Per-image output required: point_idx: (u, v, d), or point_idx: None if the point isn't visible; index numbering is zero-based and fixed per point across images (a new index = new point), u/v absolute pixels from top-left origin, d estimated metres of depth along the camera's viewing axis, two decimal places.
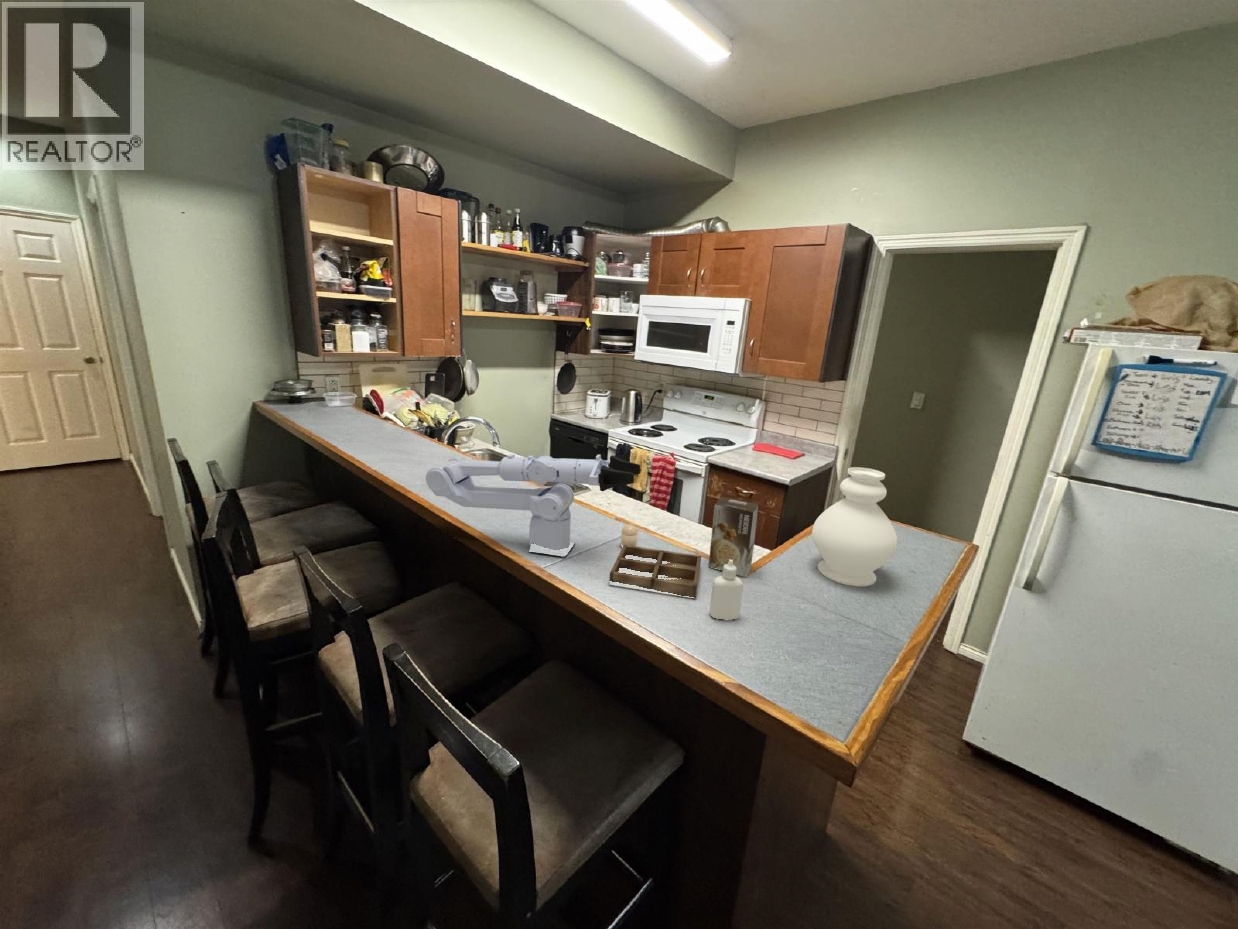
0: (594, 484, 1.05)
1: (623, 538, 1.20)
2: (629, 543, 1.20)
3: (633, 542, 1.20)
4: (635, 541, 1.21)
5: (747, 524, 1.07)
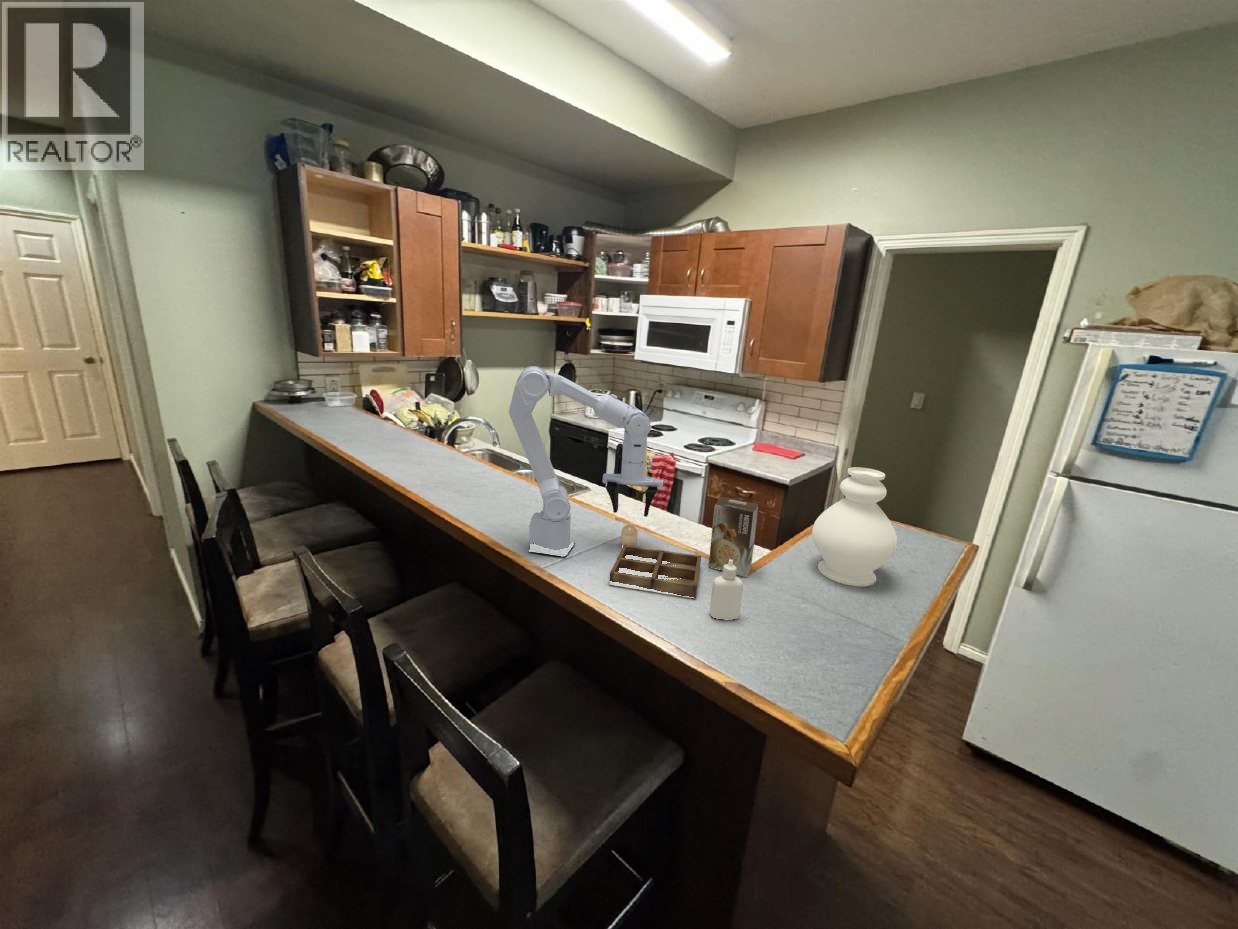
0: (661, 486, 1.16)
1: (623, 538, 1.20)
2: (629, 543, 1.20)
3: (633, 542, 1.20)
4: (635, 541, 1.21)
5: (747, 524, 1.07)
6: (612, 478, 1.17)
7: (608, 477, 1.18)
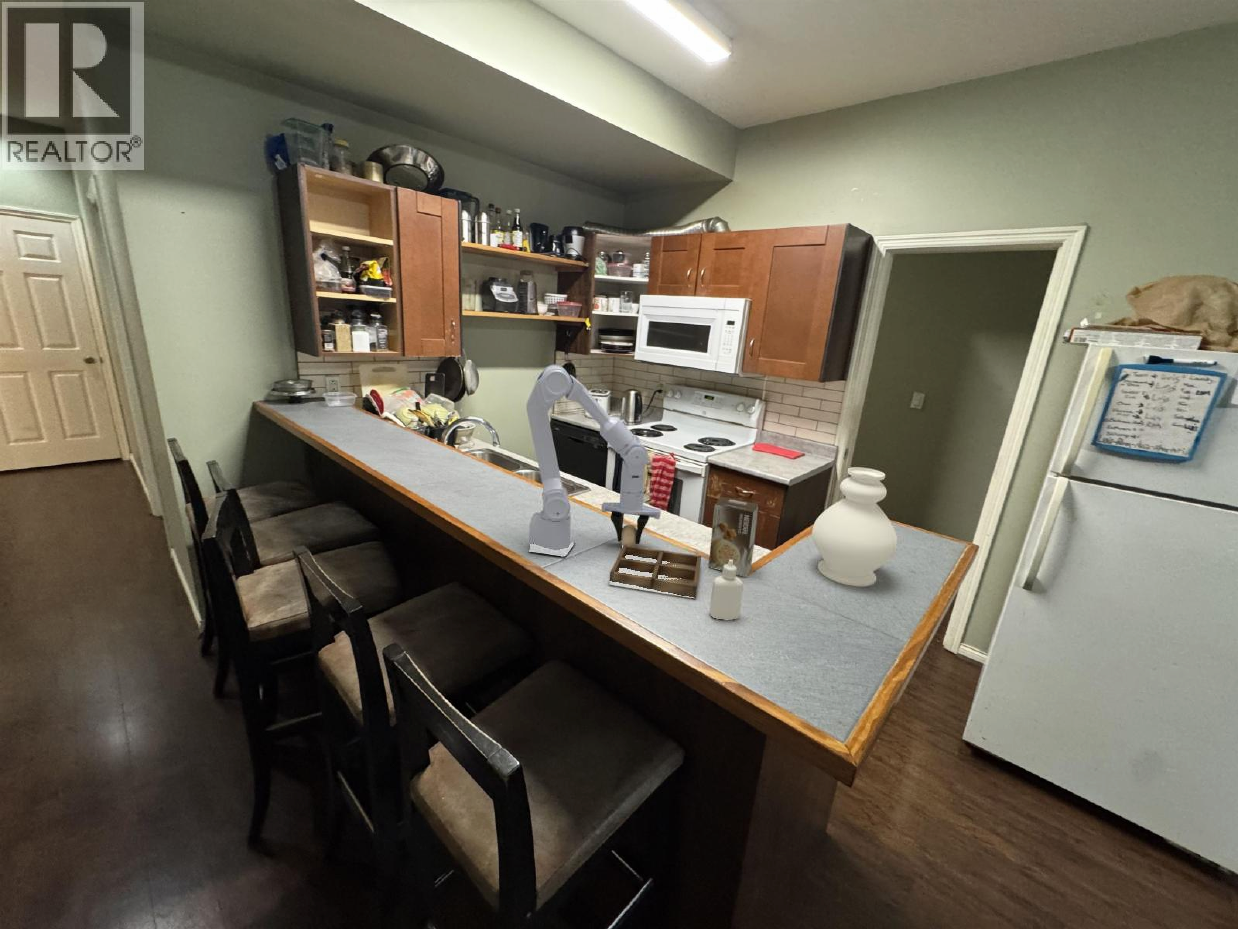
0: (659, 516, 1.18)
1: (623, 538, 1.20)
2: (629, 543, 1.20)
3: (633, 542, 1.20)
4: (635, 541, 1.21)
5: (747, 524, 1.07)
6: (611, 507, 1.19)
7: (607, 506, 1.20)
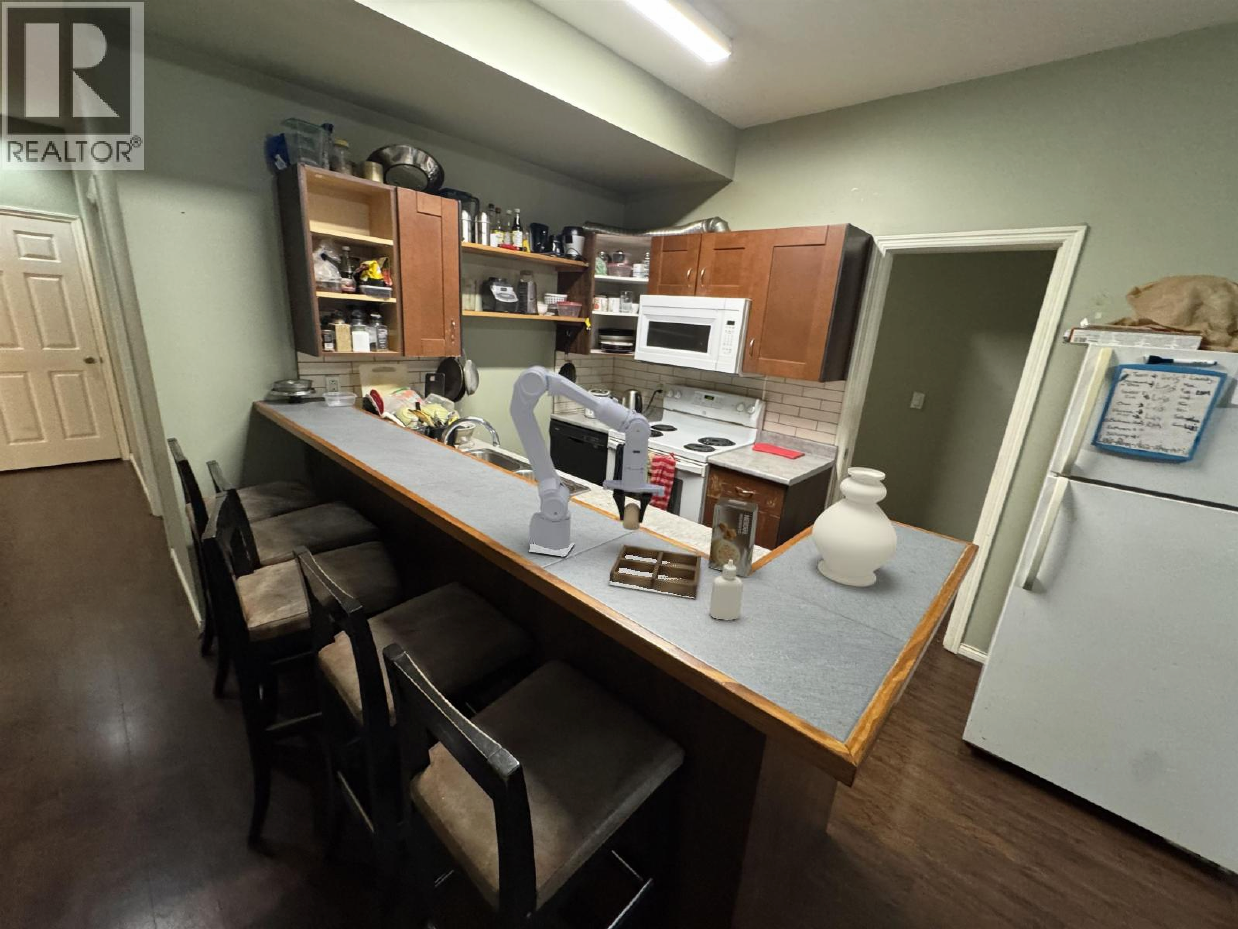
0: (663, 493, 1.13)
1: (625, 517, 1.16)
2: (632, 522, 1.15)
3: (635, 520, 1.16)
4: (638, 520, 1.16)
5: (747, 524, 1.07)
6: (612, 485, 1.14)
7: (608, 484, 1.15)
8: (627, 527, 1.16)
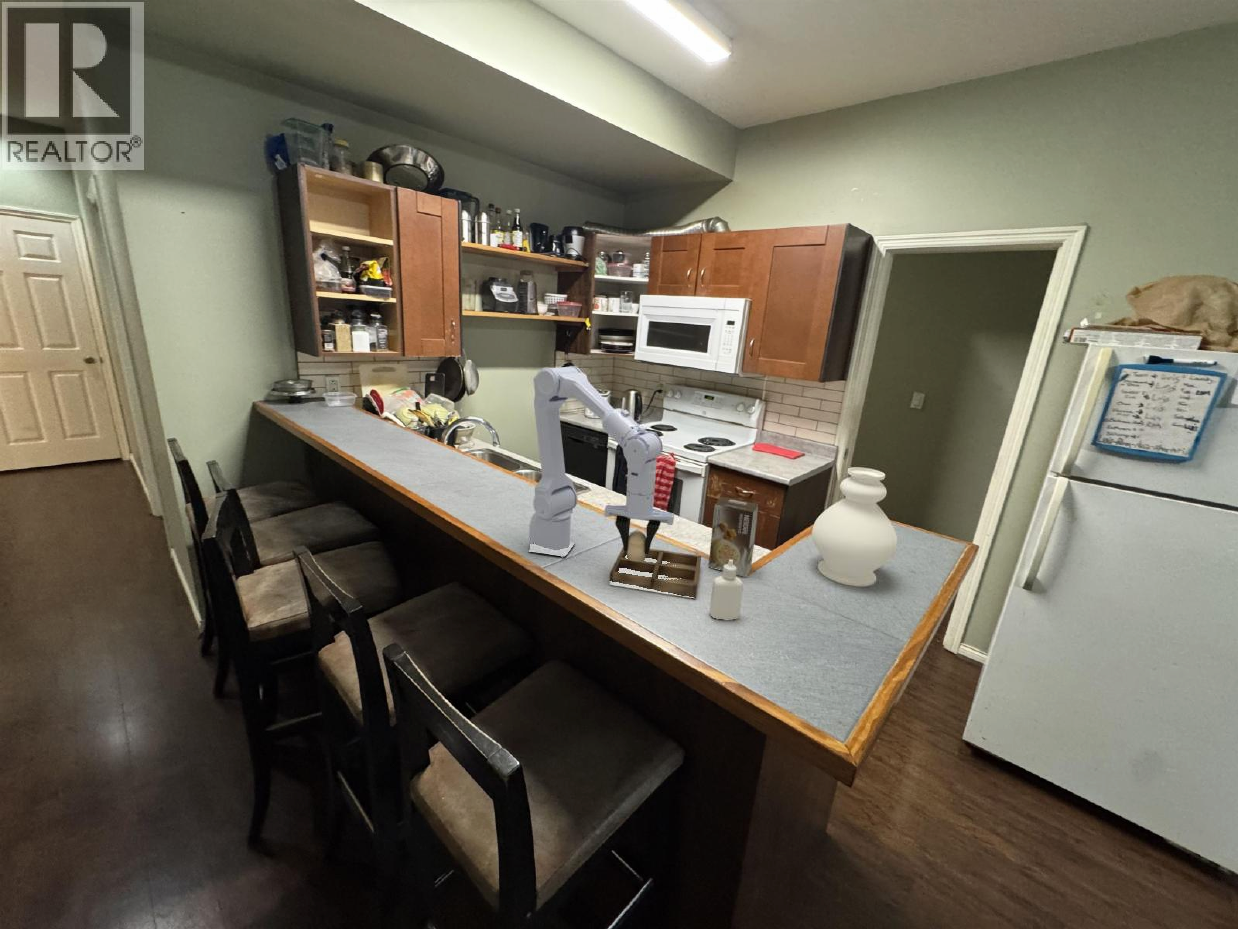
0: (672, 521, 1.00)
1: (630, 547, 1.03)
2: (637, 553, 1.03)
3: (641, 551, 1.03)
4: (644, 550, 1.03)
5: (747, 524, 1.07)
6: (615, 511, 1.02)
7: (611, 510, 1.02)
8: (631, 559, 1.03)
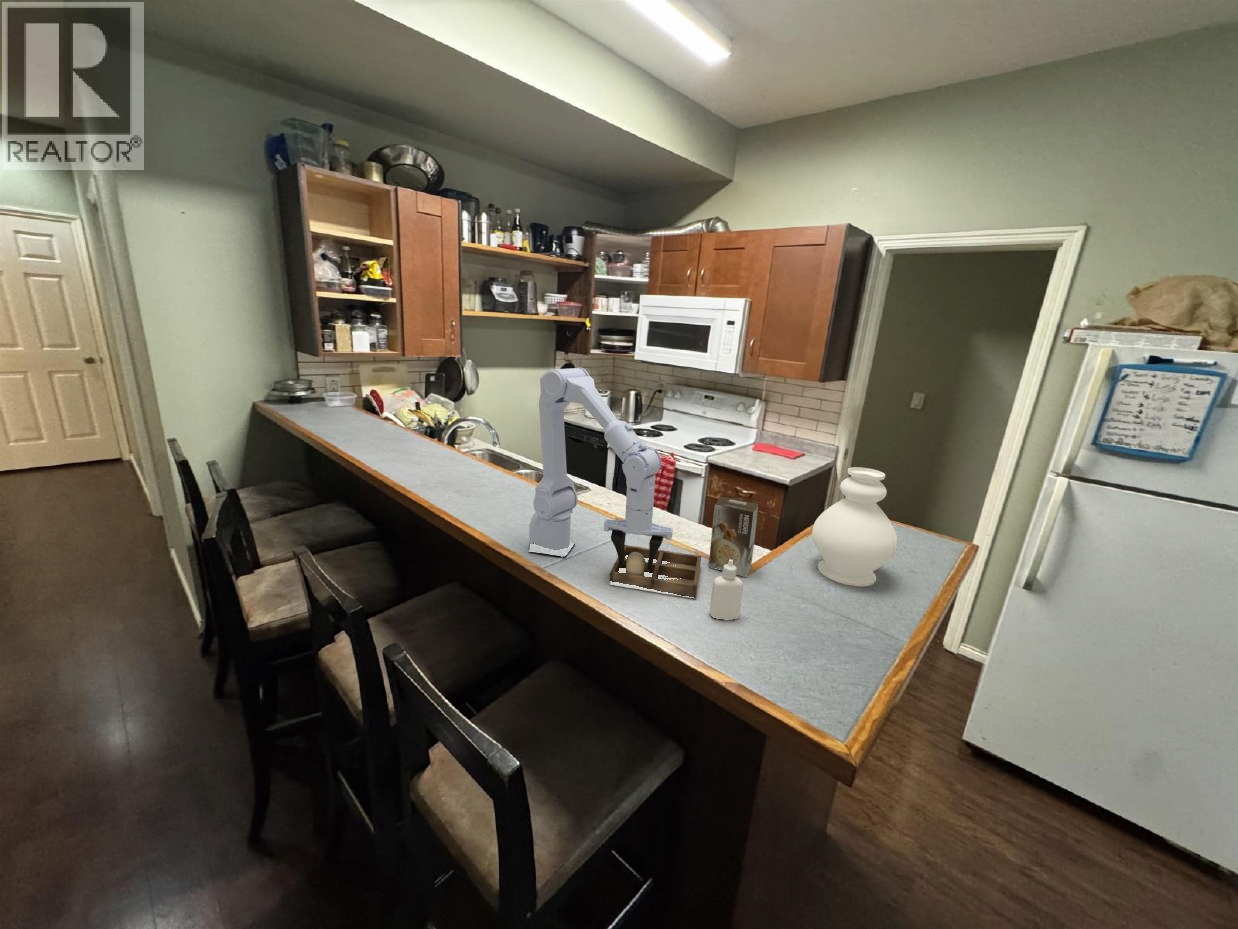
0: (671, 537, 1.01)
1: (628, 568, 1.04)
2: (635, 574, 1.04)
3: (639, 572, 1.04)
4: (642, 571, 1.05)
5: (747, 524, 1.07)
6: (614, 526, 1.03)
7: (610, 525, 1.03)
8: None
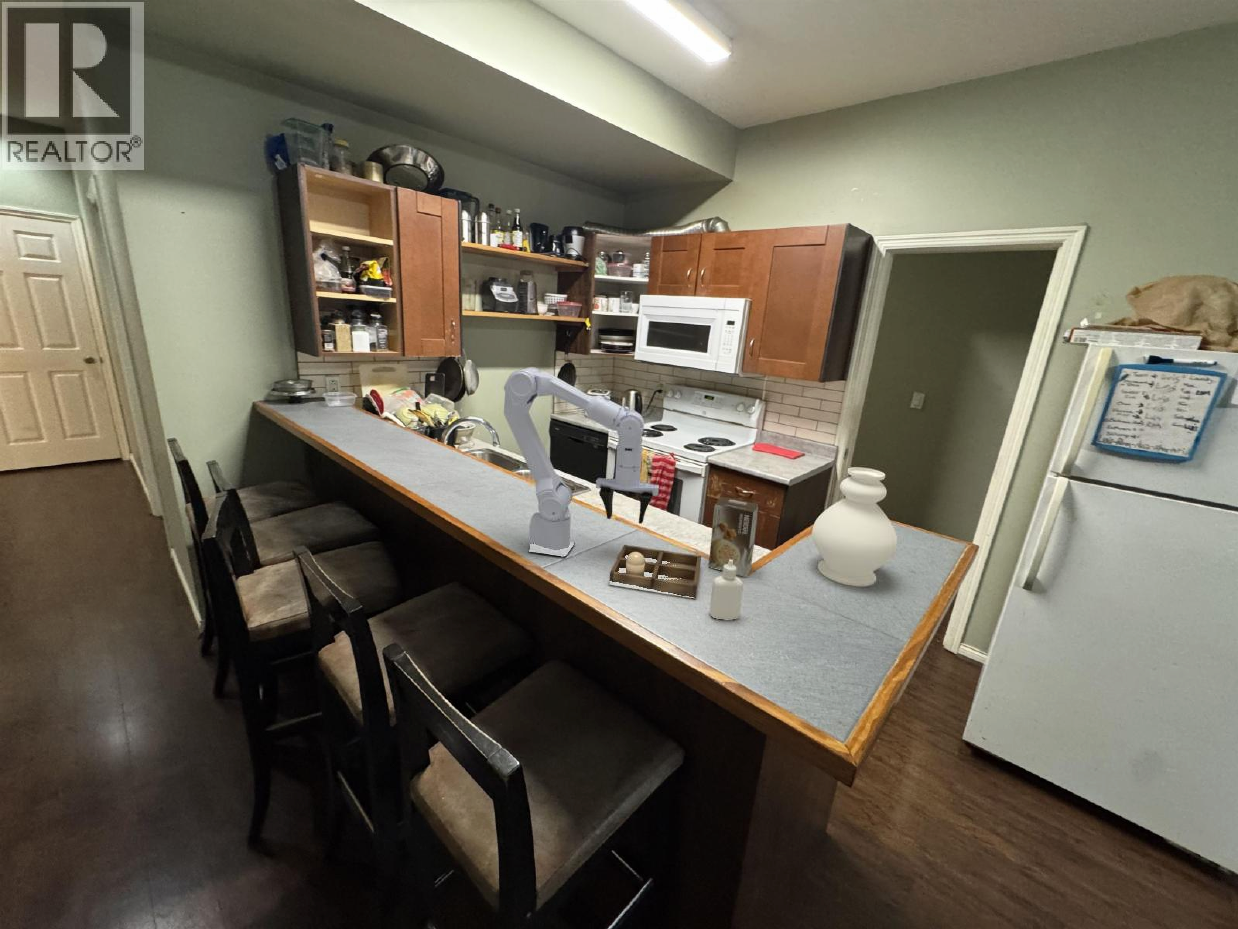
0: (657, 492, 1.11)
1: (628, 568, 1.04)
2: (635, 574, 1.04)
3: (639, 572, 1.04)
4: (642, 571, 1.05)
5: (747, 524, 1.07)
6: (606, 483, 1.12)
7: (601, 482, 1.13)
8: None
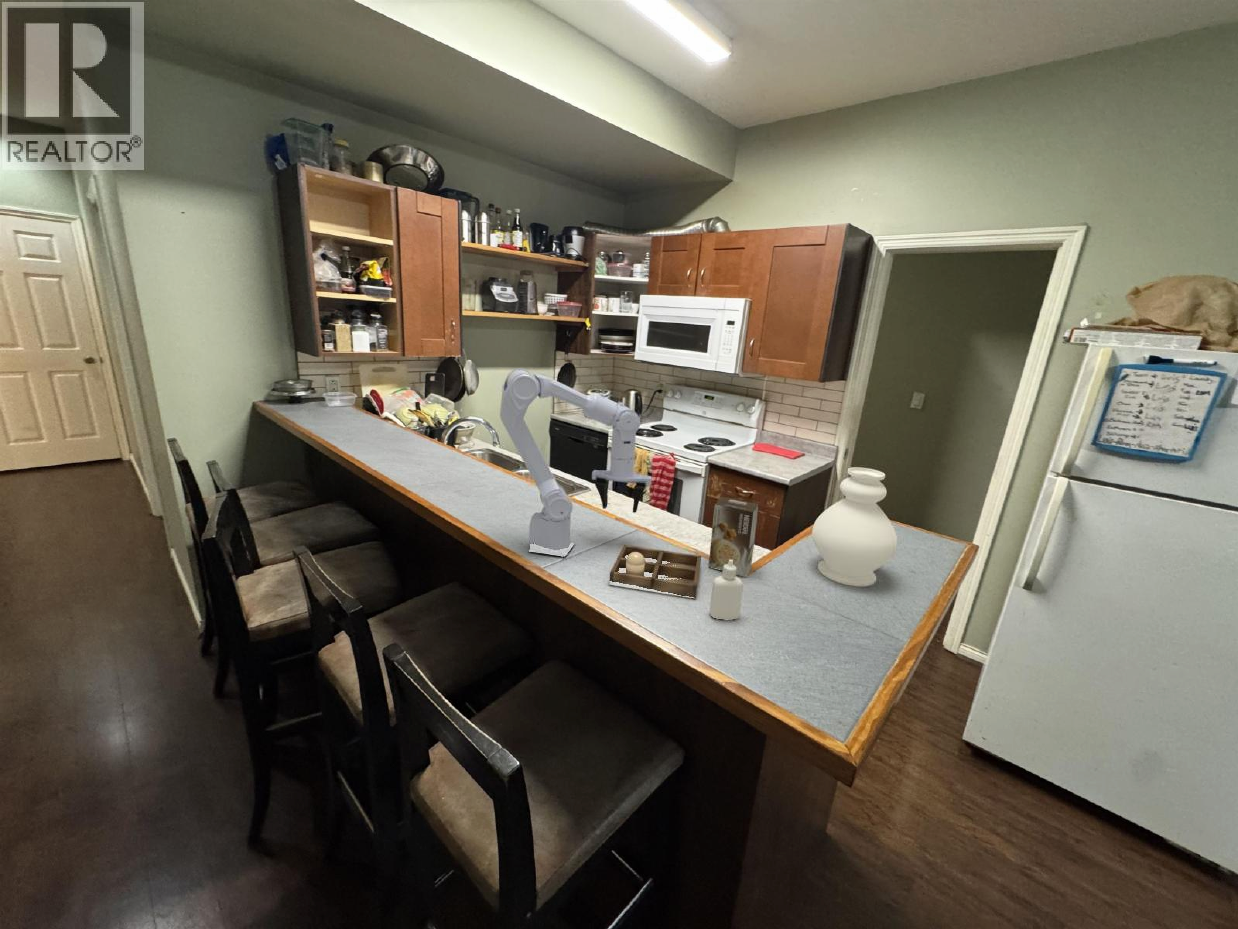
0: (650, 483, 1.17)
1: (628, 568, 1.04)
2: (635, 574, 1.04)
3: (639, 572, 1.04)
4: (642, 571, 1.05)
5: (747, 524, 1.07)
6: (601, 474, 1.18)
7: (597, 473, 1.19)
8: None
